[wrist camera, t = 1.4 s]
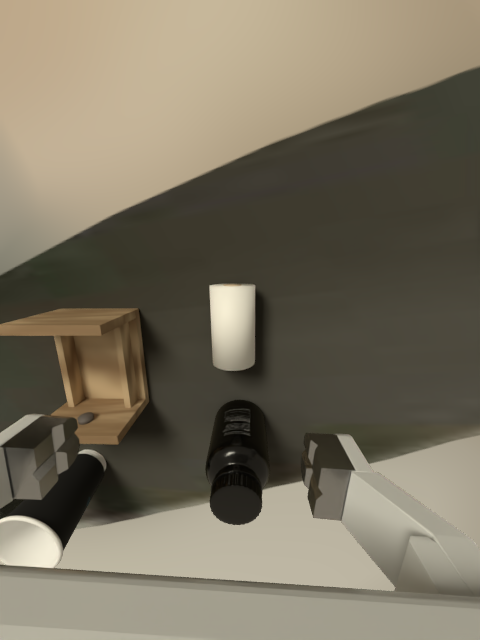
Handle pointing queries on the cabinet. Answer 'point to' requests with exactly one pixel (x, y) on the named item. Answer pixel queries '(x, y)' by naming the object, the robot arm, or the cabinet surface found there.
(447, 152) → the cabinet surface
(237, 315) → the paper roll
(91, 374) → the holder
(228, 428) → the supplement bottle
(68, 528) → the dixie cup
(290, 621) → the robot arm
